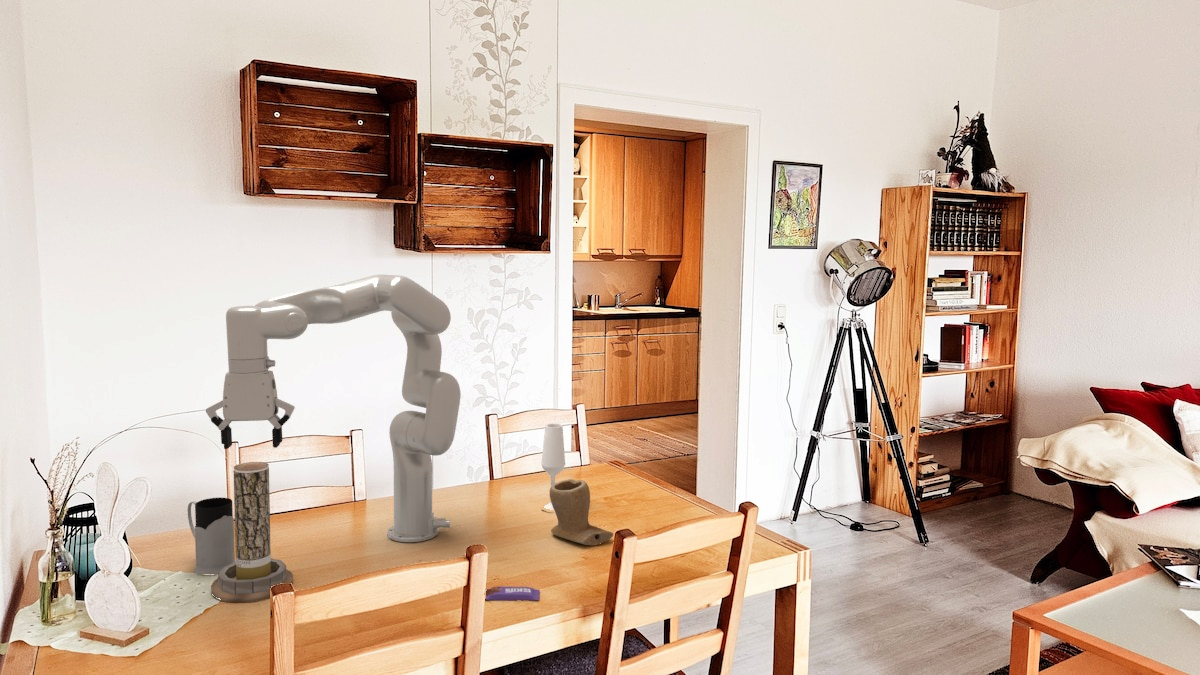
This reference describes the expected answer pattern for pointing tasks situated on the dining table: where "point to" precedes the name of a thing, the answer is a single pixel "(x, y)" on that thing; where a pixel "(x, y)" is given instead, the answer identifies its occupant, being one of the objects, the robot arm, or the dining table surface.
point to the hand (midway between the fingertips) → (252, 446)
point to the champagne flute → (553, 453)
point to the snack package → (512, 594)
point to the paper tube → (252, 520)
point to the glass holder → (213, 534)
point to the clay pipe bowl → (575, 513)
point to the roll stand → (249, 584)
